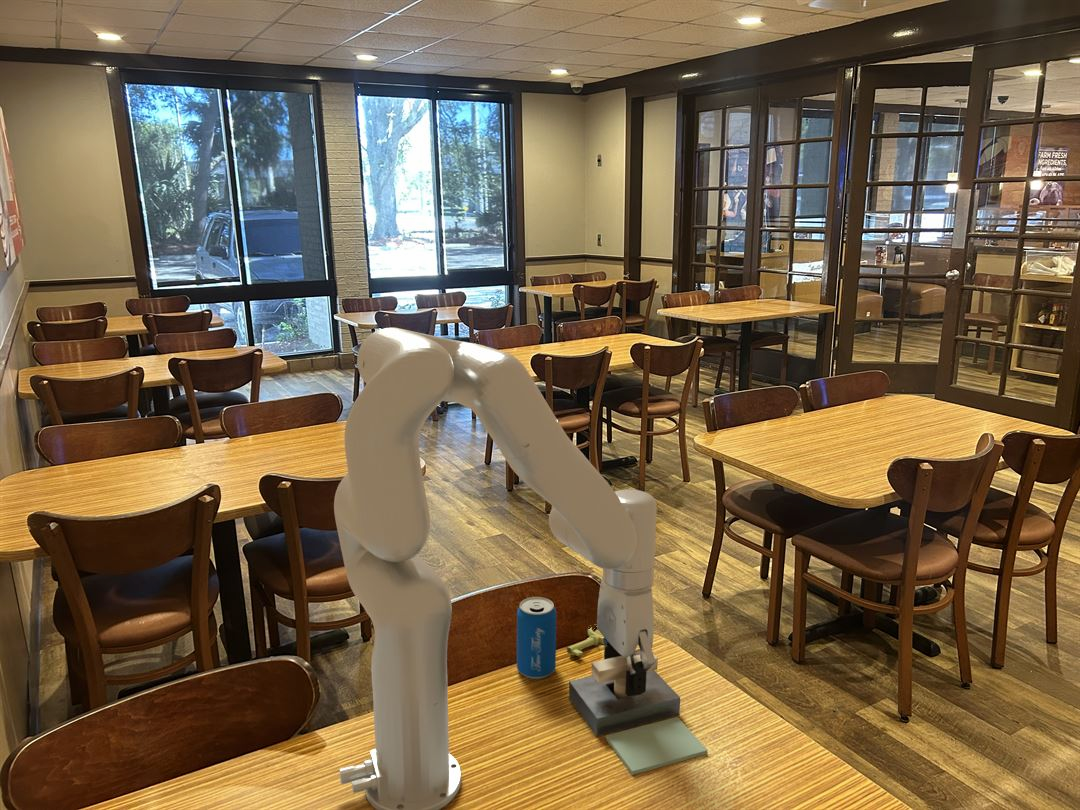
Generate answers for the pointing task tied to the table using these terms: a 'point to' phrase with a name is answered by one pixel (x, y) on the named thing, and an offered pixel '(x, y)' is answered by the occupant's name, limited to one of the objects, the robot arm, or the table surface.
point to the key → (585, 643)
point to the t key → (616, 672)
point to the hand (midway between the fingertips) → (624, 679)
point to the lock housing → (622, 704)
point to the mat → (655, 745)
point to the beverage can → (536, 637)
